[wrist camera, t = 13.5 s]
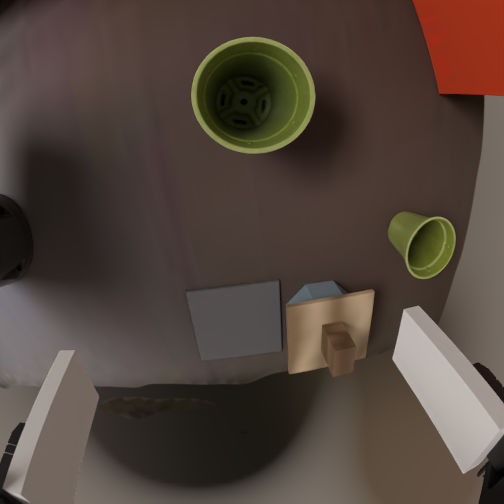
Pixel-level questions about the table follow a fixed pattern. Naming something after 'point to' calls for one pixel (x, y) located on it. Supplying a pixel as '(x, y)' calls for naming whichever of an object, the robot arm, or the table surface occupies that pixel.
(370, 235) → the table surface
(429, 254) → the plant pot
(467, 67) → the file binder
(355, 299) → the oak board
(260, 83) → the plant pot
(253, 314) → the charcoal mat
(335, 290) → the slate-blue bowl
